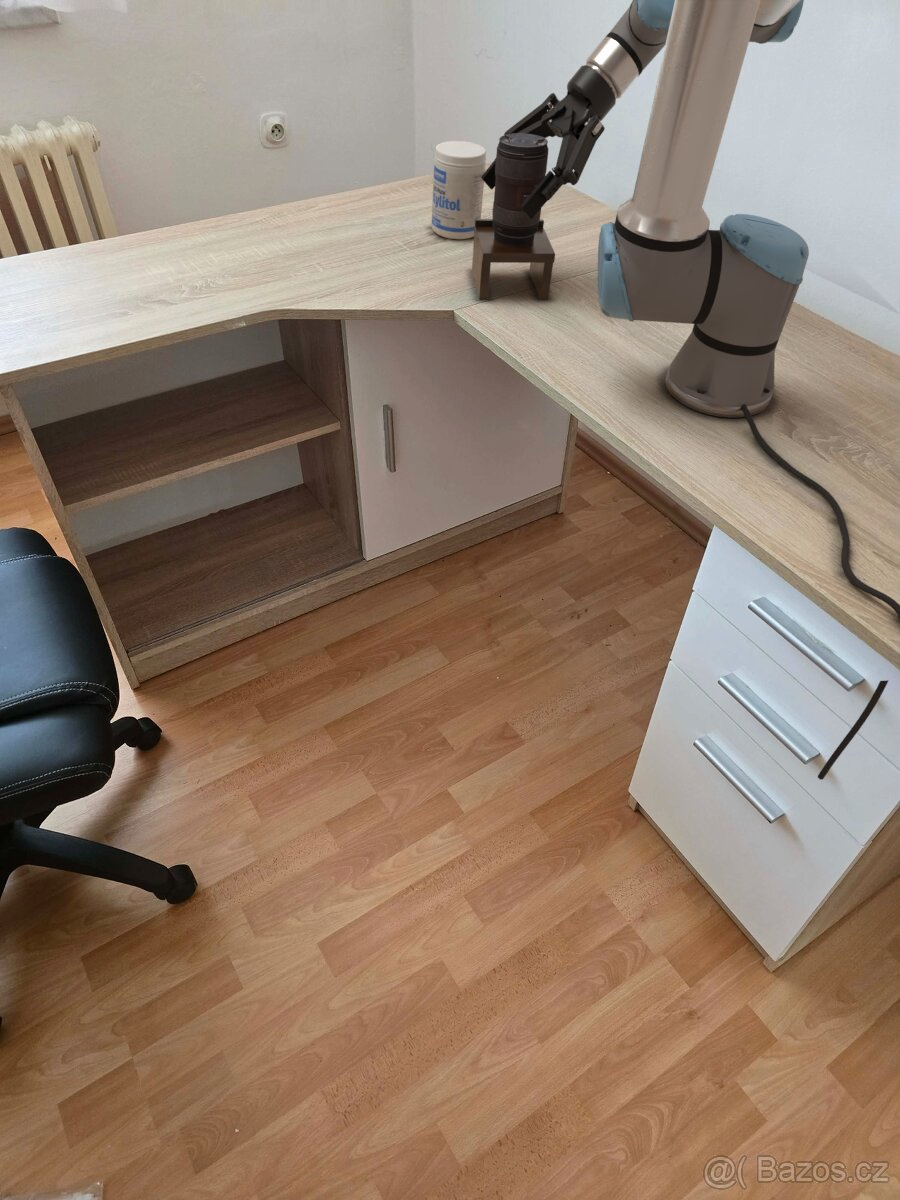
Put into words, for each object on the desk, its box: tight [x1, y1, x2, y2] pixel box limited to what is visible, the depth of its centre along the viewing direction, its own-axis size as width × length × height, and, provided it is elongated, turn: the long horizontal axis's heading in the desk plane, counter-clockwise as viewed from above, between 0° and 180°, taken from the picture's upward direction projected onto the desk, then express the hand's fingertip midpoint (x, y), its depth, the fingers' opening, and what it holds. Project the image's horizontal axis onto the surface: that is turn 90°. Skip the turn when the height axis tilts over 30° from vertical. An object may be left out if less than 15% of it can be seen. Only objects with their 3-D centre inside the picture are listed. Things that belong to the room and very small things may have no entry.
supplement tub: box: [431, 140, 487, 240], centre depth 148 cm, size 10×10×15 cm
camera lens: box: [492, 133, 549, 246], centre depth 127 cm, size 8×8×15 cm
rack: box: [471, 218, 556, 301], centre depth 134 cm, size 12×12×9 cm
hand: (505, 197), depth 126 cm, fingers open, 13 cm apart
